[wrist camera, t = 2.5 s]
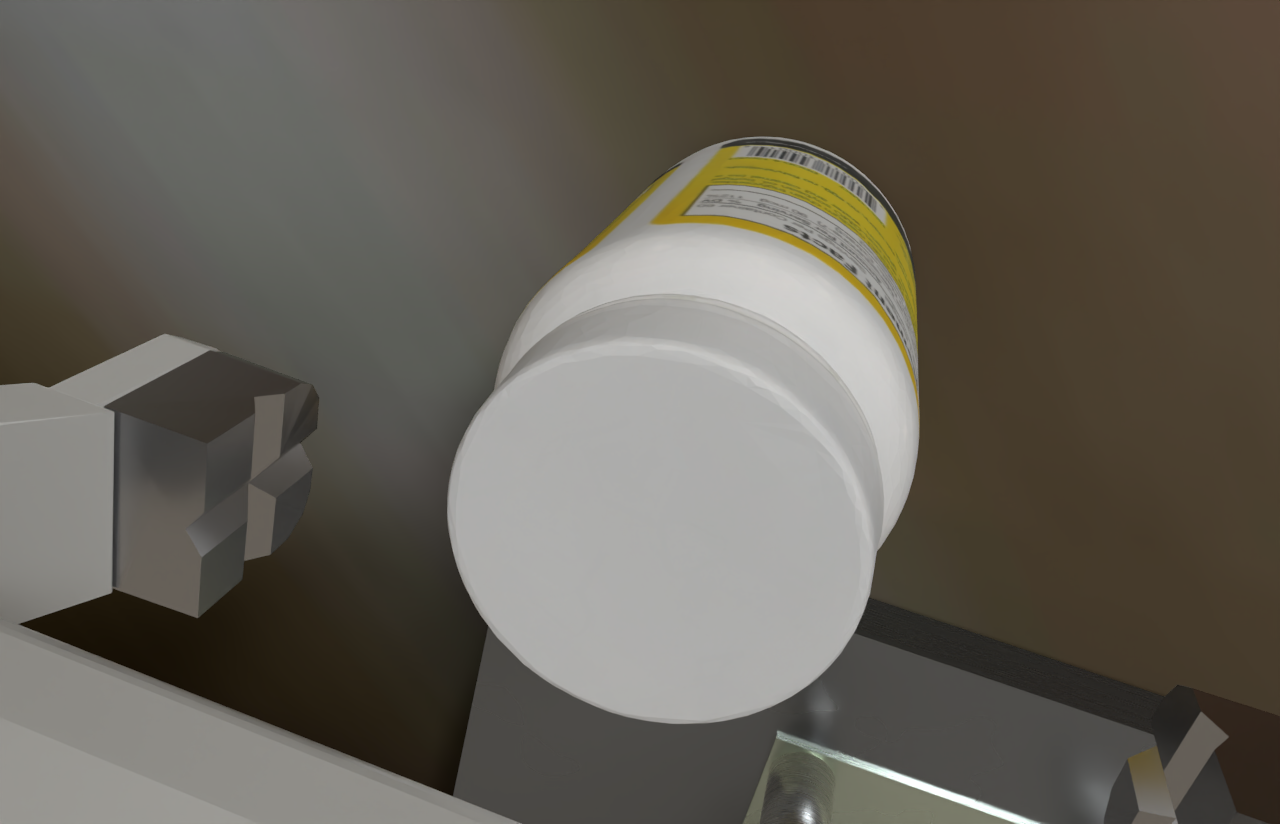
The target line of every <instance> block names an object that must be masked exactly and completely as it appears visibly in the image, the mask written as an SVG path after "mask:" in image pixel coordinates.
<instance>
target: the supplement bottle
mask: <svg viewBox="0 0 1280 824" xmlns="http://www.w3.org/2000/svg"><path fill="white" fill-rule="evenodd" d="M919 417H920V413H919V390H918V339H917V308H916V280H915V270H914V263H913V258H912V254H911V249H910V245H909V242H908V239H907V236H906V234H905V231H904V228H903V226H902V224H901V222H900V220H899V218H898V216H897V214H896V213H895V211H894V209H893V208H892V206H891V205H890V203H889V202H888V201H887V199H886V198H885V197H884V195H883V194H882V193H881V191H880V190H879V189H878V188H877V187H876V186H875V185H874V184H873V183H872V182H871V181H870V180H869V179H868V178H867V177H866V176H865V175H864V174H863V173H862V172H860V171H859V170H858V169H857V168H855V167H854V166H853V165H851V164H850V163H848V162H847V161H845V160H844V159H842V158H840V157H838V156H837V155H835V154H833V153H831V152H829V151H826V150H824V149H822V148H819V147H817V146H814V145H811V144H808V143H805V142H801V141H797V140H792V139H786V138H779V137H748V138H741V139H734V140H729V141H725V142H722V143H718V144H715V145H712V146H709V147H707V148H704V149H702V150H700V151H698V152H696V153H694V154H692V155H690V156H689V157H687V158H685V159H683V160H682V161H680V162H679V163H677V164H676V165H674V166H673V167H671V168H670V169H669V170H668V171H666V172H665V173H664V174H662V175H661V176H660V177H658V178H657V179H656V180H655V181H654V182H653V183H652V184H651V185H650V186H649V187H648V188H647V189H646V190H645V191H644V192H643V193H642V194H641V195H640V196H639V197H638V198H637V199H636V200H635V201H634V202H633V203H632V204H631V205H629V206H628V207H627V208H626V209H625V210H624V211H623V212H622V213H621V214H620V215H619V216H618V217H617V218H616V219H615V220H614V221H613V222H612V223H611V224H610V225H609V226H608V227H607V228H606V229H605V230H604V231H603V232H601V233H600V234H599V235H598V236H597V237H596V238H595V239H594V240H593V241H592V242H591V243H590V244H589V245H588V246H587V247H585V248H584V249H583V250H582V251H581V252H580V253H579V254H578V255H577V256H575V257H574V258H573V259H572V260H571V261H570V262H569V263H567V264H566V265H565V266H564V267H563V268H562V269H561V270H559V271H558V272H557V273H556V274H555V275H554V276H553V277H552V278H551V279H550V280H549V281H548V282H547V283H546V284H545V285H544V286H543V287H542V288H541V289H540V290H539V291H538V292H537V293H536V295H535V296H534V297H533V298H532V299H531V301H530V302H529V303H528V305H527V306H526V308H525V309H524V311H523V312H522V314H521V315H520V316H519V318H518V320H517V322H516V324H515V326H514V328H513V330H512V332H511V335H510V337H509V340H508V342H507V344H506V347H505V349H504V352H503V355H502V358H501V361H500V364H499V368H498V372H497V376H496V381H495V386H494V391H493V392H492V393H491V395H490V396H489V397H488V398H487V400H486V401H485V402H484V404H483V405H482V406H481V407H480V409H479V410H478V411H477V413H476V414H475V415H474V417H473V419H472V421H471V423H470V424H469V426H468V428H467V430H466V432H465V434H464V436H463V438H462V440H461V442H460V444H459V446H458V449H457V452H456V455H455V459H454V462H453V465H452V469H451V474H450V479H449V486H448V496H447V521H448V531H449V536H450V541H451V545H452V550H453V554H454V557H455V561H456V565H457V568H458V571H459V573H460V576H461V578H462V581H463V583H464V586H465V588H466V590H467V591H468V593H469V595H470V597H471V600H472V602H473V604H474V605H475V607H476V609H477V610H478V612H479V614H480V615H481V617H482V618H483V619H484V621H485V622H486V623H487V625H488V626H489V627H490V629H491V630H492V631H493V633H494V634H495V635H496V637H497V638H498V639H499V640H500V641H501V642H502V643H503V644H504V645H505V646H506V647H507V648H508V649H509V650H510V651H511V652H512V653H513V654H514V655H515V656H516V657H517V658H518V659H519V660H520V661H521V662H522V663H523V664H524V665H525V666H527V667H528V668H529V669H531V670H532V671H533V672H535V673H536V674H537V675H539V676H540V677H541V678H543V679H544V680H546V681H547V682H549V683H550V684H552V685H553V686H555V687H557V688H559V689H561V690H563V691H564V692H566V693H568V694H570V695H572V696H573V697H575V698H578V699H580V700H582V701H585V702H587V703H589V704H591V705H593V706H595V707H598V708H600V709H603V710H606V711H608V712H611V713H615V714H618V715H622V716H625V717H629V718H635V719H640V720H645V721H652V722H660V723H670V724H694V723H712V722H720V721H726V720H731V719H735V718H740V717H744V716H748V715H751V714H754V713H756V712H759V711H762V710H765V709H767V708H770V707H772V706H774V705H776V704H778V703H780V702H782V701H784V700H786V699H788V698H790V697H792V696H793V695H795V694H796V693H798V692H799V691H801V690H802V689H804V688H805V687H807V686H808V685H810V684H811V683H812V682H813V681H815V680H816V679H817V678H818V677H819V676H820V675H821V674H822V673H823V672H824V671H825V670H826V669H827V668H828V667H829V666H830V665H831V664H832V663H833V662H834V661H835V660H836V658H837V657H838V656H839V655H840V654H841V652H842V651H843V649H844V648H845V646H846V645H847V643H848V641H849V640H850V638H851V637H852V635H853V634H854V632H855V630H856V628H857V626H858V624H859V622H860V619H861V617H862V615H863V613H864V610H865V607H866V604H867V601H868V598H869V595H870V590H871V584H872V578H873V572H874V566H875V560H876V553H877V550H878V549H879V548H880V547H881V546H882V544H883V542H884V541H885V539H886V538H887V536H888V535H889V533H890V532H891V530H892V528H893V527H894V525H895V523H896V521H897V519H898V517H899V515H900V513H901V511H902V509H903V507H904V504H905V502H906V499H907V497H908V493H909V490H910V487H911V483H912V480H913V477H914V471H915V466H916V460H917V453H918V444H919Z"/></svg>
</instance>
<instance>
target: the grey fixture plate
mask: <svg viewBox="0 0 1280 824" xmlns="http://www.w3.org/2000/svg"><path fill="white" fill-rule="evenodd" d="M1163 698H1164V696H1161V695H1158V694H1155V693H1152V692H1149V691H1146V690H1143V689H1140V688H1137V687H1134V686H1131V685H1128V684H1125V683H1122V682H1119V681H1116V680H1113V679H1110V678H1107V677H1104V676H1101V675H1098V674H1095V673H1092V672H1089V671H1086V670H1083V669H1080V668H1077V667H1074V666H1071V665H1068V664H1065V663H1062V662H1059V661H1056V660H1053V659H1050V658H1047V657H1044V656H1041V655H1038V654H1035V653H1032V652H1029V651H1026V650H1023V649H1020V648H1017V647H1014V646H1011V645H1009V644H1006V643H1003V642H1000V641H997V640H994V639H991V638H988V637H985V636H982V635H979V634H976V633H973V632H970V631H967V630H964V629H961V628H958V627H955V626H952V625H949V624H946V623H943V622H940V621H937V620H934V619H931V618H928V617H925V616H922V615H919V614H916V613H913V612H910V611H907V610H904V609H901V608H898V607H895V606H892V605H889V604H886V603H883V602H880V601H877V600H874V599H871V598H868V601H867V604H866V607H865V610H864V613H863V615H862V617H861V619H860V622H859V624H858V626H857V628H856V630H855V632H854V634H853V635H852V637H851V638H850V640H849V641H848V643H847V645H846V646H845V648H844V649H843V651H842V652H841V654H840V655H839V656H838V657H837V658H836V660H835V661H834V662H833V663H832V664H831V665H830V666H829V667H828V668H827V669H826V670H825V671H824V672H823V673H822V674H821V675H820V676H819V677H818V678H817V679H816V680H815V681H813V682H812V683H811V684H810V685H808V686H807V687H805V688H804V689H802V690H801V691H799V692H798V693H796V694H795V695H793V696H792V697H790V698H788V699H786V700H784V701H782V702H780V703H778V704H776V705H774V706H772V707H770V708H767V709H765V710H762V711H759V712H756V713H754V714H751V715H748V716H744V717H740V718H735V719H731V720H726V721H720V722H712V723H694V724H670V723H660V722H652V721H645V720H640V719H635V718H629V717H625V716H622V715H618V714H615V713H611V712H608V711H606V710H603V709H600V708H598V707H595V706H593V705H591V704H589V703H587V702H585V701H582V700H580V699H578V698H575V697H573V696H572V695H570V694H568V693H566V692H564V691H563V690H561V689H559V688H557V687H555V686H553V685H552V684H550V683H549V682H547V681H546V680H544V679H543V678H541V677H540V676H539V675H537V674H536V673H535V672H533V671H532V670H531V669H529V668H528V667H527V666H525V665H524V664H523V663H522V662H521V661H520V660H519V659H518V658H517V657H516V656H515V655H514V654H513V653H512V652H511V651H510V650H509V649H508V648H507V647H506V646H505V645H504V644H503V643H502V642H501V641H500V640H499V639H498V638H497V637H496V635H495V634H494V633H493V631H492V630H491V629H490V627H489V626H488V630H487V635H486V640H485V645H484V649H483V654H482V659H481V664H480V669H479V673H478V678H477V683H476V688H475V693H474V697H473V702H472V707H471V712H470V717H469V721H468V726H467V731H466V736H465V741H464V745H463V750H462V755H461V760H460V765H459V769H458V774H457V779H456V784H455V789H454V794H453V797H456V798H458V799H461V800H463V801H466V802H468V803H471V804H473V805H476V806H479V807H481V808H484V809H486V810H489V811H491V812H494V813H496V814H499V815H501V816H504V817H506V818H509V819H511V820H514V821H516V822H519V823H522V824H1104V816H1105V812H1106V808H1107V804H1108V801H1109V797H1110V793H1111V789H1112V787H1113V785H1114V783H1115V781H1116V779H1117V777H1118V775H1119V773H1120V772H1121V770H1122V768H1123V766H1124V764H1125V762H1126V760H1127V759H1128V758H1130V757H1132V756H1134V755H1137V754H1139V753H1141V752H1143V751H1146V750H1148V749H1150V748H1153V747H1155V746H1157V745H1156V741H1155V737H1154V733H1153V729H1152V726H1151V722H1150V719H1151V718H1152V716H1153V714H1154V713H1155V711H1156V710H1157V708H1158V706H1159V705H1160V703H1161V701H1162V700H1163Z"/></svg>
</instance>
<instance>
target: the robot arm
mask: <svg viewBox="0 0 1280 824" xmlns="http://www.w3.org/2000/svg"><path fill="white" fill-rule="evenodd" d="M318 406H319V397H318V395H317V393H316V391H315V389H314V387H313V385H312V384H310V383H307V382H304V381H302V380H299V379H296V378H293V377H291V376H288V375H285V374H282V373H280V372H277V371H274V370H272V369H269V368H266V367H263V366H261V365H258V364H255V363H252V362H250V361H247V360H244V359H242V358H239V357H236V356H233V355H231V354H228V353H225V352H220V351H219V350H218V349H216V348H213V347H210V346H207V345H204V344H201V343H198V342H194V341H191V340H188V339H185V338H182V337H178V336H173V335H168V334H163V335H161V336H159V337H157V338H155V339H152V340H150V341H148V342H146V343H144V344H142V345H140V346H137V347H135V348H133V349H131V350H129V351H127V352H125V353H122V354H120V355H118V356H116V357H114V358H112V359H109V360H107V361H105V362H103V363H101V364H99V365H97V366H94V367H92V368H90V369H88V370H86V371H84V372H82V373H79V374H77V375H75V376H73V377H71V378H69V379H67V380H64V381H62V382H60V383H58V384H56V385H54V386H52V387H49V388H47V387H44V386H41V385H39V384H36V383H25V384H12V385H0V824H522V823H519V822H516V821H514V820H511V819H509V818H506V817H504V816H501V815H499V814H496V813H494V812H491V811H489V810H486V809H484V808H481V807H479V806H476V805H473V804H471V803H468V802H466V801H463V800H461V799H458V798H456V797H453V796H451V795H448V794H446V793H443V792H441V791H438V790H436V789H433V788H431V787H428V786H425V785H423V784H420V783H418V782H415V781H413V780H410V779H408V778H405V777H403V776H400V775H398V774H395V773H393V772H390V771H388V770H385V769H382V768H380V767H377V766H375V765H372V764H370V763H367V762H365V761H362V760H360V759H357V758H355V757H352V756H350V755H347V754H345V753H342V752H339V751H337V750H334V749H332V748H329V747H327V746H324V745H322V744H319V743H317V742H314V741H312V740H309V739H307V738H304V737H302V736H299V735H296V734H294V733H291V732H289V731H286V730H284V729H281V728H279V727H276V726H274V725H271V724H269V723H266V722H264V721H261V720H259V719H256V718H254V717H251V716H248V715H246V714H243V713H241V712H238V711H236V710H233V709H231V708H228V707H226V706H223V705H221V704H218V703H216V702H213V701H211V700H208V699H205V698H203V697H200V696H198V695H195V694H193V693H190V692H188V691H185V690H183V689H180V688H178V687H175V686H173V685H170V684H168V683H165V682H162V681H160V680H157V679H155V678H152V677H150V676H147V675H145V674H142V673H140V672H137V671H135V670H132V669H130V668H127V667H125V666H122V665H120V664H117V663H114V662H112V661H109V660H107V659H104V658H102V657H99V656H97V655H94V654H92V653H89V652H87V651H84V650H82V649H79V648H77V647H74V646H71V645H69V644H66V643H64V642H61V641H59V640H56V639H54V638H51V637H49V636H46V635H44V634H41V633H39V632H36V631H34V630H31V629H28V628H26V627H23V626H21V625H18V624H20V623H23V622H26V621H29V620H32V619H35V618H38V617H41V616H44V615H47V614H50V613H53V612H56V611H59V610H62V609H65V608H68V607H71V606H74V605H77V604H80V603H83V602H86V601H89V600H92V599H95V598H98V597H101V596H104V595H107V594H110V593H112V588H113V589H116V590H119V591H122V592H125V593H128V594H130V595H133V596H136V597H139V598H142V599H145V600H148V601H150V602H153V603H156V604H159V605H162V606H165V607H167V608H170V609H173V610H176V611H179V612H182V613H185V614H187V615H190V616H193V617H196V618H199V617H200V616H201V615H202V614H203V613H204V612H205V611H207V610H208V609H209V608H210V607H211V606H212V605H213V604H215V603H216V602H217V601H218V600H219V599H220V598H222V597H223V596H224V595H225V594H226V593H227V592H228V591H230V590H231V589H232V588H233V587H234V586H235V585H236V584H238V583H239V582H240V581H241V580H242V578H243V567H244V561H246V560H250V559H254V558H259V557H263V556H267V555H271V554H272V553H273V552H274V551H275V550H276V549H277V548H278V547H279V546H280V545H281V544H282V543H284V542H285V541H286V540H287V539H288V537H289V536H290V534H291V532H292V531H293V529H294V527H295V526H296V524H297V522H298V521H299V519H300V517H301V516H302V514H303V511H304V508H305V505H306V502H307V498H308V495H309V492H310V486H311V478H312V470H313V468H312V466H311V464H310V462H309V460H308V458H307V456H306V454H305V451H304V449H303V447H302V445H301V442H302V441H303V440H305V439H306V438H307V437H308V436H309V435H310V434H311V433H312V432H314V431H315V430H316V429H317V421H318ZM1150 722H1151V726H1152V729H1153V733H1154V737H1155V741H1156V745H1157V746H1155V747H1153V748H1150V749H1148V750H1146V751H1143V752H1141V753H1139V754H1137V755H1134V756H1132V757H1130V758H1128V759H1127V760H1126V762H1125V764H1124V766H1123V768H1122V770H1121V772H1120V773H1119V775H1118V777H1117V779H1116V781H1115V783H1114V785H1113V787H1112V789H1111V793H1110V797H1109V801H1108V804H1107V808H1106V812H1105V816H1104V824H1280V716H1278V715H1275V714H1272V713H1269V712H1265V711H1262V710H1259V709H1256V708H1253V707H1250V706H1247V705H1243V704H1240V703H1237V702H1234V701H1231V700H1228V699H1225V698H1222V697H1218V696H1215V695H1212V694H1209V693H1206V692H1203V691H1200V690H1196V689H1193V688H1189V687H1185V686H1181V685H1177V686H1176V687H1175V688H1174V689H1172V690H1171V691H1170V692H1169V693H1168V694H1167V695H1166V696H1165V697H1164V698H1163V700H1162V701H1161V703H1160V705H1159V706H1158V708H1157V710H1156V711H1155V713H1154V714H1153V716H1152V718H1151V719H1150Z"/></svg>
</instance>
